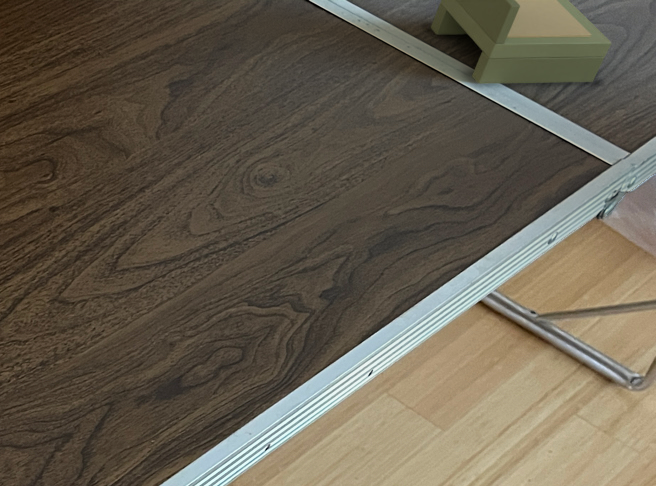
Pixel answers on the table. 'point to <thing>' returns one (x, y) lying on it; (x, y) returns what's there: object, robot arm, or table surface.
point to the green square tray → (526, 39)
